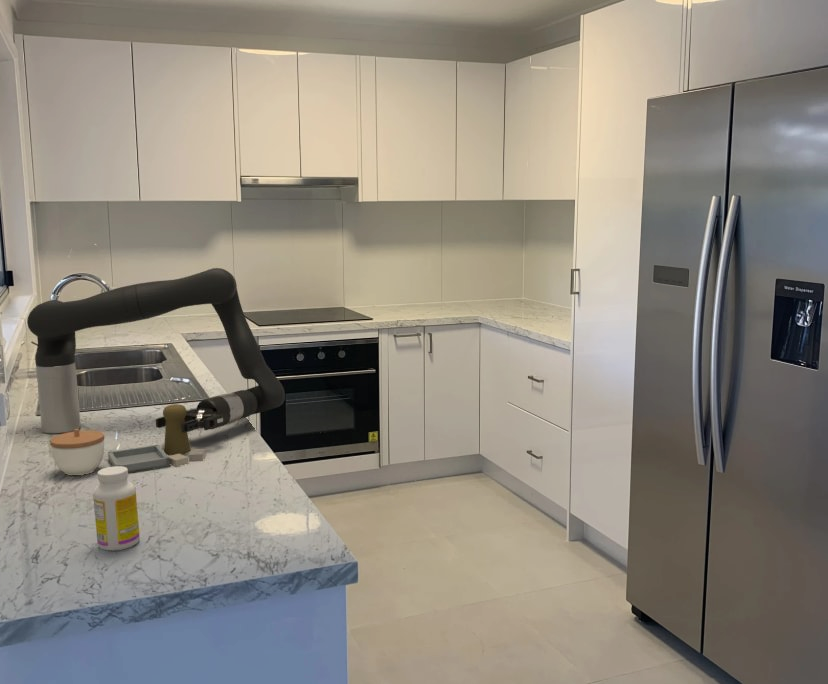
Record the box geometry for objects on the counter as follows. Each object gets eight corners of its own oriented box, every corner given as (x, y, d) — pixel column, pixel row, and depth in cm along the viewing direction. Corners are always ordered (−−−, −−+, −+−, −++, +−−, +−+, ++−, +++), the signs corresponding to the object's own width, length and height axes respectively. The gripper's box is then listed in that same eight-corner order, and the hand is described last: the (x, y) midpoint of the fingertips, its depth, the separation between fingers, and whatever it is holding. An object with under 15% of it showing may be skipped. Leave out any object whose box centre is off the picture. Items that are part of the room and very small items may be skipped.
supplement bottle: (144, 535, 138) (139, 463, 136) (132, 551, 131) (127, 476, 129) (105, 536, 138) (99, 464, 136) (91, 552, 131) (85, 477, 129)
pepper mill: (180, 446, 191) (177, 400, 189) (196, 450, 187) (193, 404, 185) (158, 452, 186) (155, 406, 185) (173, 456, 183) (170, 409, 181)
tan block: (167, 464, 178) (166, 456, 178) (179, 461, 180) (179, 453, 180) (176, 468, 175) (175, 460, 175) (188, 465, 177) (188, 457, 177)
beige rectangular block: (192, 457, 183) (192, 449, 183) (206, 456, 183) (205, 449, 183) (189, 462, 179) (188, 454, 179) (202, 462, 179) (202, 454, 179)
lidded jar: (49, 482, 167) (45, 438, 165) (57, 466, 177) (53, 425, 175) (104, 476, 169) (100, 433, 168) (108, 462, 180) (105, 421, 178)
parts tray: (108, 460, 181) (107, 451, 180) (158, 452, 186) (158, 444, 185) (117, 475, 170) (116, 466, 170) (170, 466, 175) (169, 457, 175)
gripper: (198, 392, 201) (147, 406, 187) (241, 398, 194) (190, 413, 180) (200, 421, 202) (149, 437, 189) (242, 428, 195) (192, 446, 181)
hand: (169, 425), depth 184 cm, fingers open, 8 cm apart
